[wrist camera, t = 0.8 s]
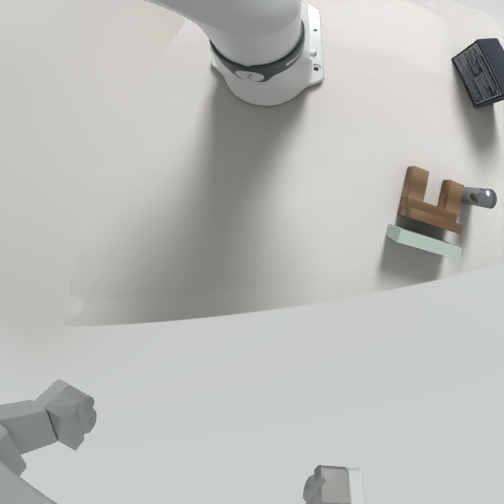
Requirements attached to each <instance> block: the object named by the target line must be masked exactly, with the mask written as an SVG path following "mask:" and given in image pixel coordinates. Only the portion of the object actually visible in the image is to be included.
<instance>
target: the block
mask: <svg viewBox="0 0 504 504" xmlns="http://www.w3.org/2000/svg"><path fill="white" fill-rule="evenodd" d="M428 176H429V171H426V170H424V169H421V168H418V167H415V166H412V167H408V169H407V174H406V179H405V184H404V189H403V193H402V198H401V202H400V206H399V210H398V214H400V215H403V216H406V217H409V218H412V219H415V220H419V221H422V222H425V223H428V224H431V225H434V226H437V227H440V228H443V229H446V230H449V231H452V232H455V233H457V234H460V235H461V231H462V227H463V225H460V224H458V223H456V220H457V216H458V211H459V207H460V202H461V198H462V193H463V188H464V185H461V184H459V183H457V182H454V181H452V180H443V185H442V190H441V194H440V199H439V204H438V207H436V206H433V205H430V204H427V203H425V202H423V200H424V195H425V190H426V186H427V181H428Z"/></svg>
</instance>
